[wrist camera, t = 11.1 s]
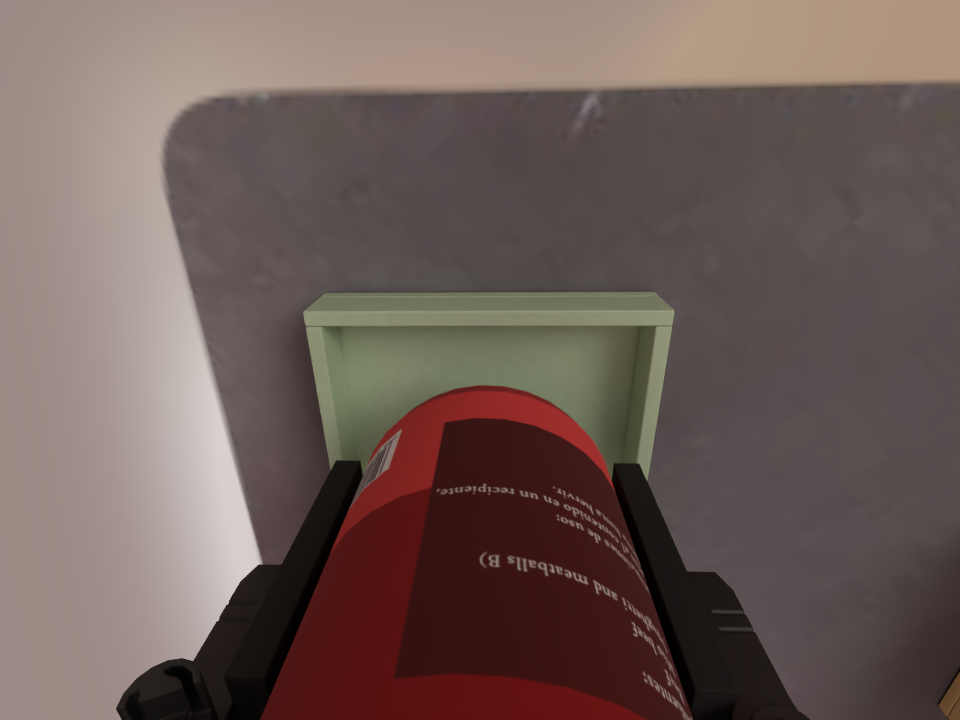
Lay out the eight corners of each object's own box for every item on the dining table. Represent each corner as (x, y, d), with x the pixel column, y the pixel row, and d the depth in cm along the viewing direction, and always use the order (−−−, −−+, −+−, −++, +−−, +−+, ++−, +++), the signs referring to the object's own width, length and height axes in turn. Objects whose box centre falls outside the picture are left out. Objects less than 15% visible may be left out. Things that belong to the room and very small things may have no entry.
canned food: (398, 583, 17) (260, 1175, 7) (340, 390, 14) (-39, 975, 4) (611, 567, 17) (778, 1198, 7) (600, 360, 14) (891, 977, 3)
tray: (324, 292, 16) (301, 311, 14) (655, 291, 16) (675, 310, 14) (362, 539, 21) (348, 577, 19) (619, 543, 20) (631, 583, 18)
